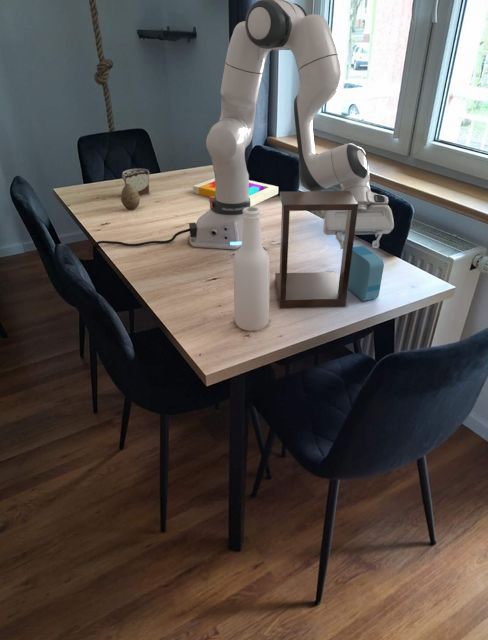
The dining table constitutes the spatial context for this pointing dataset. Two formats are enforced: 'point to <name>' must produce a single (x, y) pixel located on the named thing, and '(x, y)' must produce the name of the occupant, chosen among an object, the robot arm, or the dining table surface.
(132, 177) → the food container
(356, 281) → the data package
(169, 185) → the dining table surface
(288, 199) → the shelf
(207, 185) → the puzzle game
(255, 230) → the alcohol
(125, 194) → the decorative egg
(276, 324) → the dining table surface
